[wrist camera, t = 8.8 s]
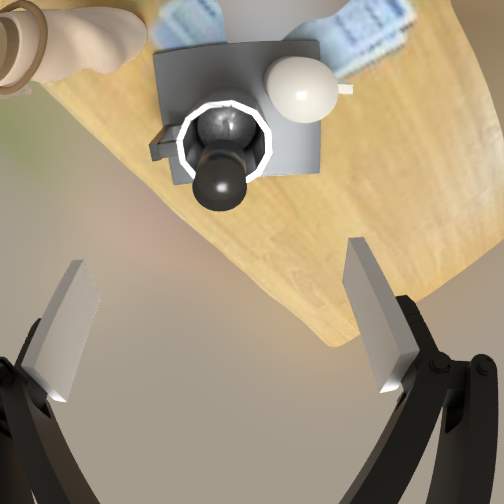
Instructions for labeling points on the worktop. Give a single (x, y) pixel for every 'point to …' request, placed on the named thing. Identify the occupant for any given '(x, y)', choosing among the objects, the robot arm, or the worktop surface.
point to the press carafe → (192, 145)
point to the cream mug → (303, 88)
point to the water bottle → (64, 43)
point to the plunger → (223, 157)
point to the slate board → (244, 78)
